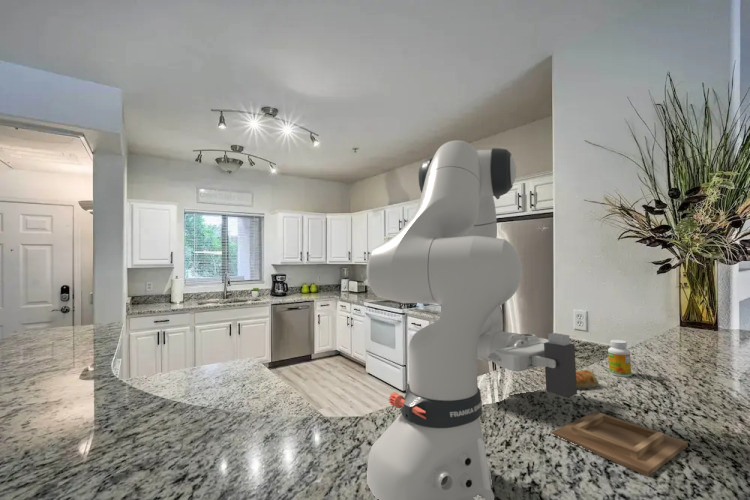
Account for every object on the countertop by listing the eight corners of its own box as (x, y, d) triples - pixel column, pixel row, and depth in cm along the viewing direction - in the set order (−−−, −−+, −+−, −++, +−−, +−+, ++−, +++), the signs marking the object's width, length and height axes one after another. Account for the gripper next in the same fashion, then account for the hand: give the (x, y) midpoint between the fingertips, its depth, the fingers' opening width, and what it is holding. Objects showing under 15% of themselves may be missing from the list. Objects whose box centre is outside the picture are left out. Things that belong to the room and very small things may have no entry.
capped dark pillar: (566, 397, 76) (563, 337, 77) (546, 391, 80) (543, 334, 81) (577, 393, 78) (574, 335, 79) (556, 387, 83) (553, 332, 83)
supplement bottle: (605, 373, 105) (603, 340, 105) (616, 370, 107) (614, 338, 108) (624, 378, 100) (622, 344, 100) (635, 375, 102) (633, 341, 103)
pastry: (574, 392, 91) (573, 377, 92) (553, 384, 98) (552, 370, 98) (601, 387, 94) (600, 373, 95) (579, 380, 101) (578, 366, 101)
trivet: (648, 476, 55) (647, 463, 55) (552, 435, 69) (551, 425, 69) (687, 446, 64) (687, 435, 64) (595, 415, 77) (594, 406, 77)
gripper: (483, 343, 86) (534, 354, 74) (534, 333, 96) (587, 341, 84) (484, 369, 85) (535, 385, 73) (536, 356, 96) (588, 368, 84)
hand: (563, 362), depth 79 cm, fingers closed on capped dark pillar, 4 cm apart
